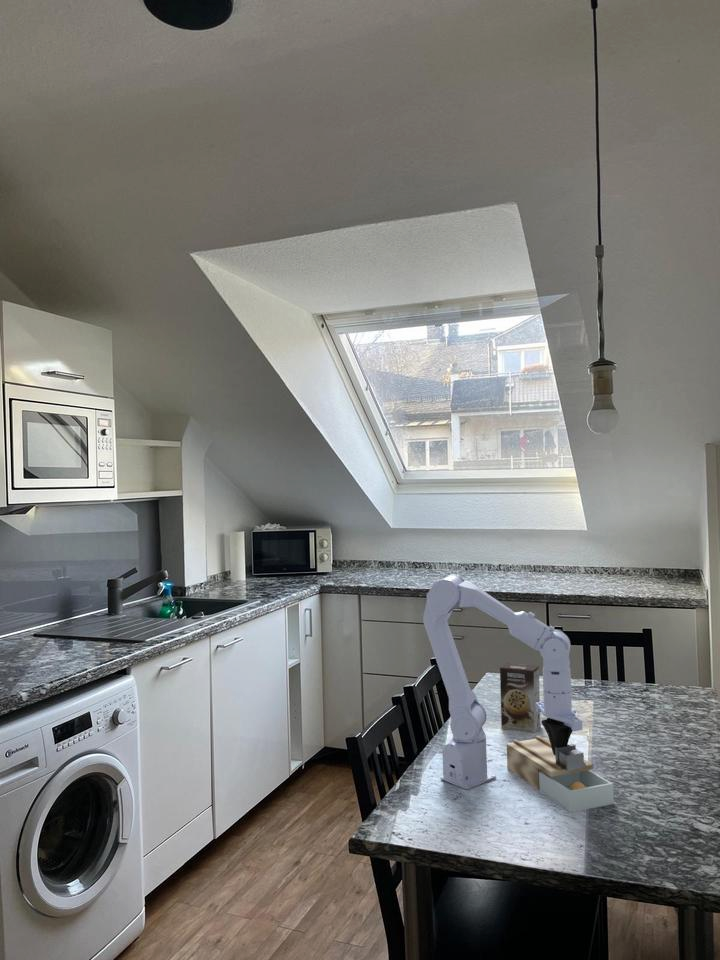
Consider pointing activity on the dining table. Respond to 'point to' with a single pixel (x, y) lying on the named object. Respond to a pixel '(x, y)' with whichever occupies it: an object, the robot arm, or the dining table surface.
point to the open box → (577, 790)
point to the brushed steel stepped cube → (569, 757)
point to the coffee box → (519, 697)
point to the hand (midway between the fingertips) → (559, 754)
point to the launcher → (536, 760)
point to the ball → (577, 785)
